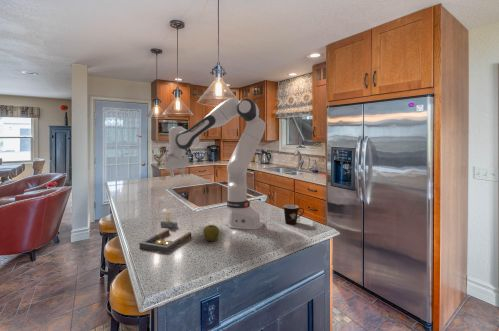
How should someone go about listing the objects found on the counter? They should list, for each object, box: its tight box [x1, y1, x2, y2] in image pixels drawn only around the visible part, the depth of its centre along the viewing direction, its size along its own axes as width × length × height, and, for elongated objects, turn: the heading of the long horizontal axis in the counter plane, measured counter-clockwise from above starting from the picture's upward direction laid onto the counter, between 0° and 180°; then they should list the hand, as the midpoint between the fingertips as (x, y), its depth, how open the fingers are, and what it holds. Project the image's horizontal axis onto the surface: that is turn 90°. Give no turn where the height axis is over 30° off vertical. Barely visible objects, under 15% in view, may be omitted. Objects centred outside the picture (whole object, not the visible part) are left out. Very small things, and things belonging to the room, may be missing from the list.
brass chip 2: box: [163, 240, 174, 246], centre depth 124 cm, size 4×4×2 cm
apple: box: [202, 224, 220, 242], centre depth 129 cm, size 8×8×7 cm
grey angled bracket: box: [139, 234, 181, 254], centre depth 123 cm, size 15×10×2 cm, turn 70°
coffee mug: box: [283, 204, 305, 226], centre depth 154 cm, size 12×9×10 cm
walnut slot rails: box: [155, 228, 192, 245], centre depth 132 cm, size 15×9×2 cm, turn 70°
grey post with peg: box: [160, 210, 178, 229], centre depth 149 cm, size 10×2×9 cm, turn 70°
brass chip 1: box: [154, 238, 166, 245], centre depth 125 cm, size 4×4×2 cm
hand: (177, 175), depth 162 cm, fingers open, 8 cm apart
